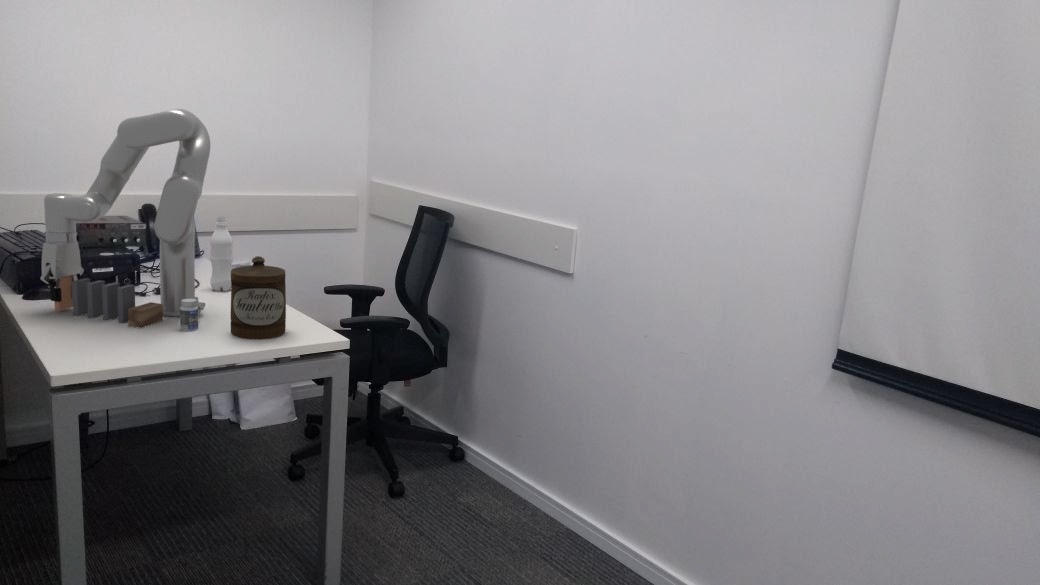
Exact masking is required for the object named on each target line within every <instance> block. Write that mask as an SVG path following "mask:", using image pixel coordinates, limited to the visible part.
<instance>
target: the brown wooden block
mask: <svg viewBox="0 0 1040 585" xmlns="http://www.w3.org/2000/svg"><path fill="white" fill-rule="evenodd" d="M128 314H129V321H128V327H133V328H137V327H138V328H139V329H143V328H145V326H146V327H149V326H152V325H155V324H157V322H158V323H160V321H161V322H163V321H164V315H163V304H161V303H157V302H146V303H144V304H140V305H137V306H136V305H135V307H133V308H130V309H128ZM154 323H155V324H154ZM151 324H152V325H151ZM148 325H149V326H148ZM142 327H143V328H142Z"/></svg>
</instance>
